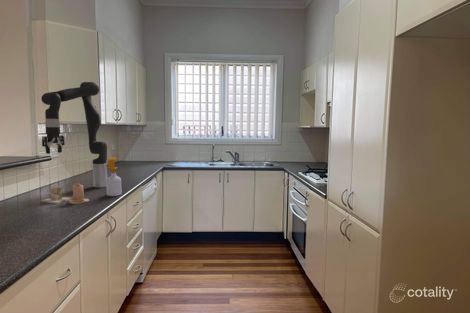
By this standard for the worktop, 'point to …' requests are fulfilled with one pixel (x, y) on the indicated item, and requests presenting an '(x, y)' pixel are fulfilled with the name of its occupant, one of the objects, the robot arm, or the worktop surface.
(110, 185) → the soap bottle
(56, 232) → the worktop surface
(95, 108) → the robot arm
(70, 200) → the mat
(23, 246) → the worktop surface
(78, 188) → the lidded jar
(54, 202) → the white display stand
